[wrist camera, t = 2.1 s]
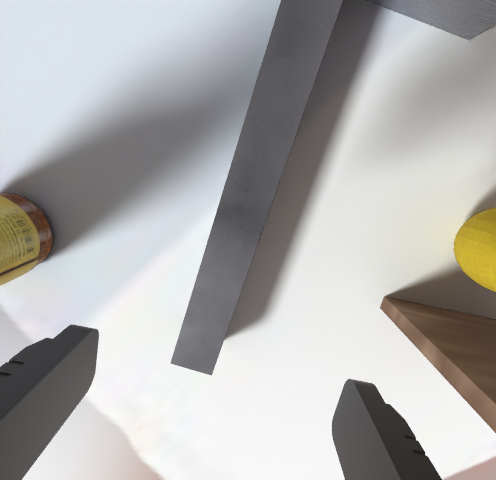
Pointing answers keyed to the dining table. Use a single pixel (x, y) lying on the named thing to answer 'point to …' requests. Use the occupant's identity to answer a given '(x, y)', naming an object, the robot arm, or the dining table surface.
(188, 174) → the dining table surface
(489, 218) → the lemon
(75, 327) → the robot arm
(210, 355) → the crook tool
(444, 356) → the small wooden stool
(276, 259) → the dining table surface
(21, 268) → the sauce bottle
